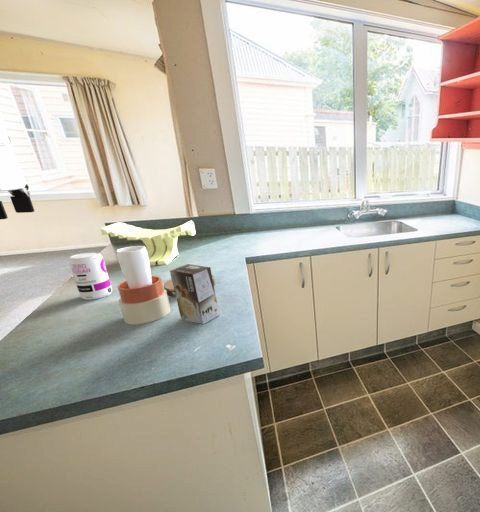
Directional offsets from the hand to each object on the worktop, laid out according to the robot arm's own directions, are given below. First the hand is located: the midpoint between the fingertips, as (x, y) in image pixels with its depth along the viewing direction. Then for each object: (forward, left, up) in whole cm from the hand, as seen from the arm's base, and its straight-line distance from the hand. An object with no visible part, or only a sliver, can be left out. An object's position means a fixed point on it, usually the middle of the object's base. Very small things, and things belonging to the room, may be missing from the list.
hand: (12, 215), depth 70 cm
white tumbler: (+19, +5, -27) cm, 33 cm away
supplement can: (-1, +28, -33) cm, 44 cm away
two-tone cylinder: (+19, +5, -33) cm, 39 cm away
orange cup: (+19, +5, -33) cm, 39 cm away
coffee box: (+34, -3, -33) cm, 48 cm away
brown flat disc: (+28, +23, -33) cm, 49 cm away
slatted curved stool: (+9, +66, -33) cm, 75 cm away
